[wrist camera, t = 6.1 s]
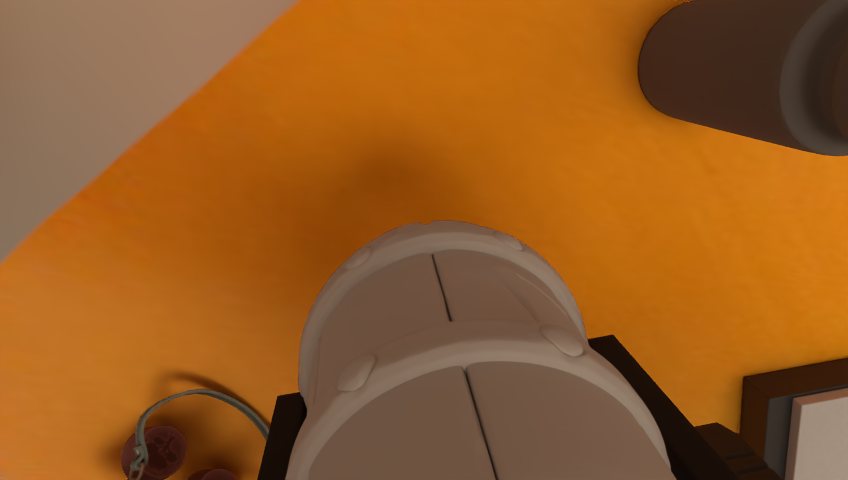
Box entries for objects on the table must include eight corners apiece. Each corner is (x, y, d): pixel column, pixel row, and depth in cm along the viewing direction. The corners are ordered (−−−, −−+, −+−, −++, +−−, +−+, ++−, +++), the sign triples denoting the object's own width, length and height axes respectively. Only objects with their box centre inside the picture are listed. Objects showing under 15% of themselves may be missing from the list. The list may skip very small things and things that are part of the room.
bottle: (743, -14, 28) (1127, -67, 14) (748, 103, 30) (1087, 158, 16) (630, 16, 28) (902, -8, 14) (642, 131, 30) (891, 212, 16)
